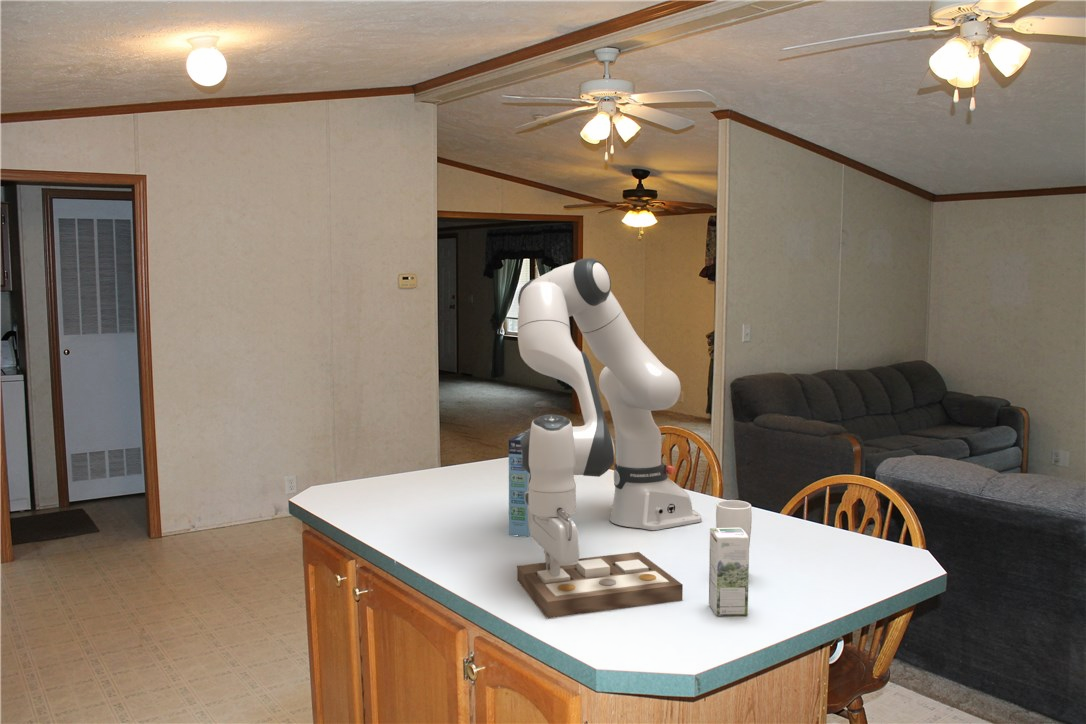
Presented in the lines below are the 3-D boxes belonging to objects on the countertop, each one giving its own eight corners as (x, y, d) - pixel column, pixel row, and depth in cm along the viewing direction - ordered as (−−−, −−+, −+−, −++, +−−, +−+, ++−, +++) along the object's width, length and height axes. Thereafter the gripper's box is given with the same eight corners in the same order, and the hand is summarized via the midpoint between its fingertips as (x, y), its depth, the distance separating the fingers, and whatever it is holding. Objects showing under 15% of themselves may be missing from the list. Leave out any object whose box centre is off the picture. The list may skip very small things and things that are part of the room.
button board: (638, 566, 174) (638, 549, 174) (682, 600, 155) (682, 581, 155) (517, 580, 167) (517, 563, 167) (547, 618, 148) (547, 598, 148)
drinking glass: (725, 570, 171) (726, 498, 170) (756, 577, 167) (757, 503, 165) (709, 579, 166) (709, 505, 164) (741, 587, 162) (742, 510, 160)
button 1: (562, 583, 164) (562, 568, 164) (570, 592, 159) (570, 576, 159) (537, 586, 162) (537, 571, 162) (545, 595, 158) (545, 579, 157)
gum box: (534, 513, 215) (533, 424, 213) (553, 515, 214) (552, 425, 211) (508, 535, 197) (506, 438, 195) (528, 537, 195) (527, 439, 193)
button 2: (638, 574, 168) (638, 559, 168) (648, 582, 164) (648, 567, 163) (614, 576, 167) (614, 562, 167) (624, 585, 162) (624, 570, 162)
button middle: (600, 573, 166) (600, 558, 166) (610, 581, 161) (610, 566, 161) (576, 576, 165) (576, 561, 164) (585, 584, 160) (585, 569, 160)
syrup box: (739, 603, 153) (740, 525, 152) (748, 616, 148) (749, 535, 146) (708, 604, 153) (709, 526, 152) (716, 617, 147) (716, 536, 146)
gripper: (587, 515, 150) (587, 590, 151) (552, 488, 170) (552, 555, 171) (553, 518, 148) (554, 594, 150) (521, 491, 168) (522, 559, 169)
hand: (553, 573), depth 160 cm, fingers closed, pressing on button 1
